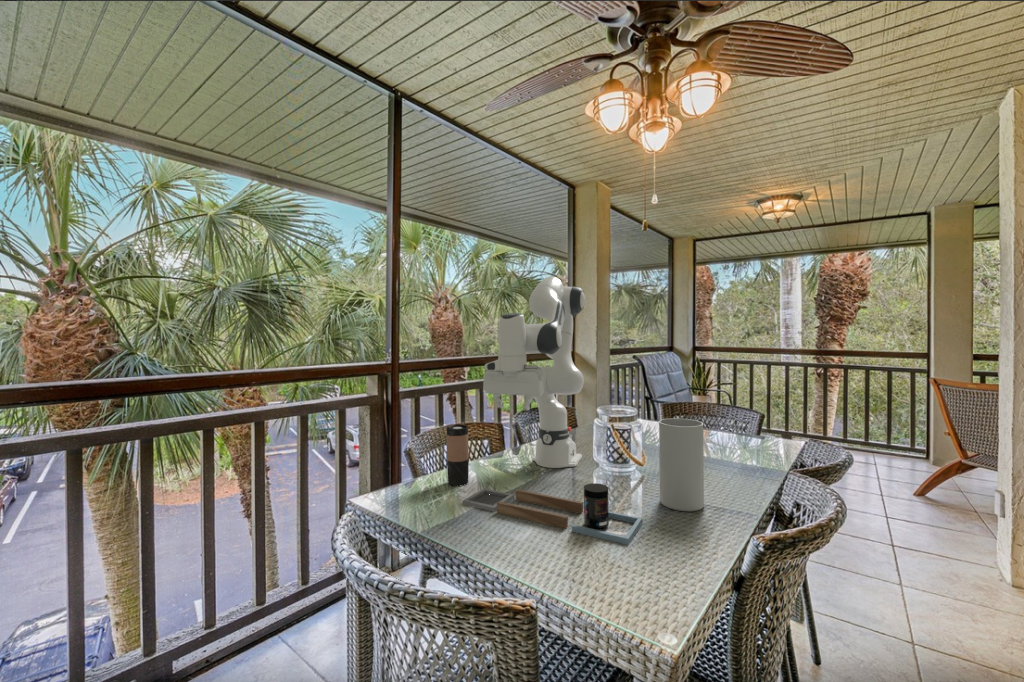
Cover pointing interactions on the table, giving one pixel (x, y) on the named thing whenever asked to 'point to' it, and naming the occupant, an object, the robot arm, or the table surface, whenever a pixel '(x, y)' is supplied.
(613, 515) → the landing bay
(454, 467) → the travel mug
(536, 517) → the channel
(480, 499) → the tray
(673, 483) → the cylinder vase
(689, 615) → the table surface
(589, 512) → the supplement container
